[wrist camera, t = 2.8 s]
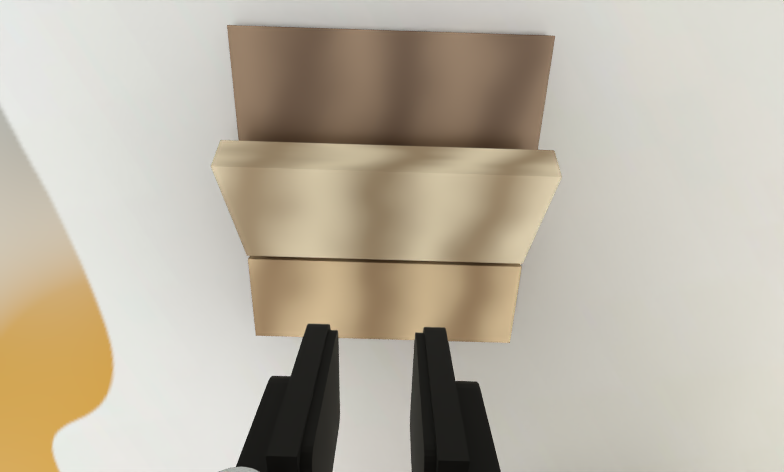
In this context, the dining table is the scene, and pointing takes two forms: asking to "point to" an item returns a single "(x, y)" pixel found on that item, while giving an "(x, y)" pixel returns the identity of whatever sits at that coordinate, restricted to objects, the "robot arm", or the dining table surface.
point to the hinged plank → (385, 200)
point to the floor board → (397, 128)
